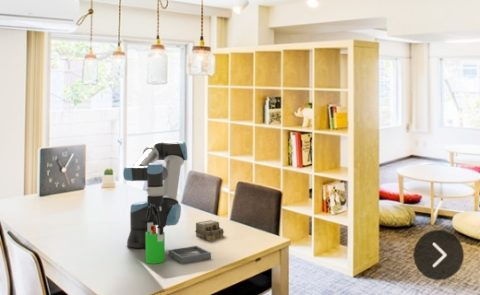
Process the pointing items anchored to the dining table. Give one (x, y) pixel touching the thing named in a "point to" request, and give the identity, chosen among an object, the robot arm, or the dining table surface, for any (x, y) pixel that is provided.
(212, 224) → the miniature house
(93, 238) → the dining table surface
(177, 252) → the tray
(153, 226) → the green-shelled ribbed roller
